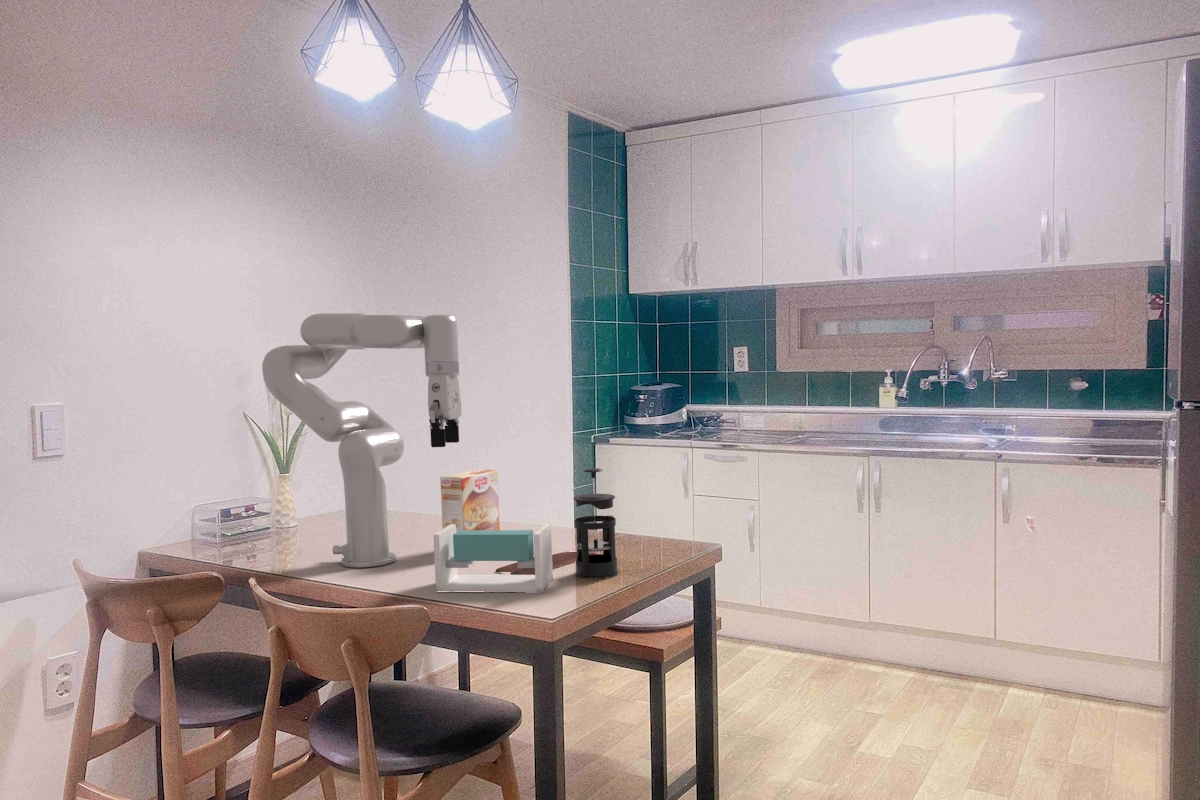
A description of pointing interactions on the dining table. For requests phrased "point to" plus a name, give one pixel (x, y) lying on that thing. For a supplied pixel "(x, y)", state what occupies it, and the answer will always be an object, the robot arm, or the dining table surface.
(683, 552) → the dining table surface
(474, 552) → the plank
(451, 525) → the peg frame
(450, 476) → the coffeecake box
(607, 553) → the french press
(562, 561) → the wooden tablet
